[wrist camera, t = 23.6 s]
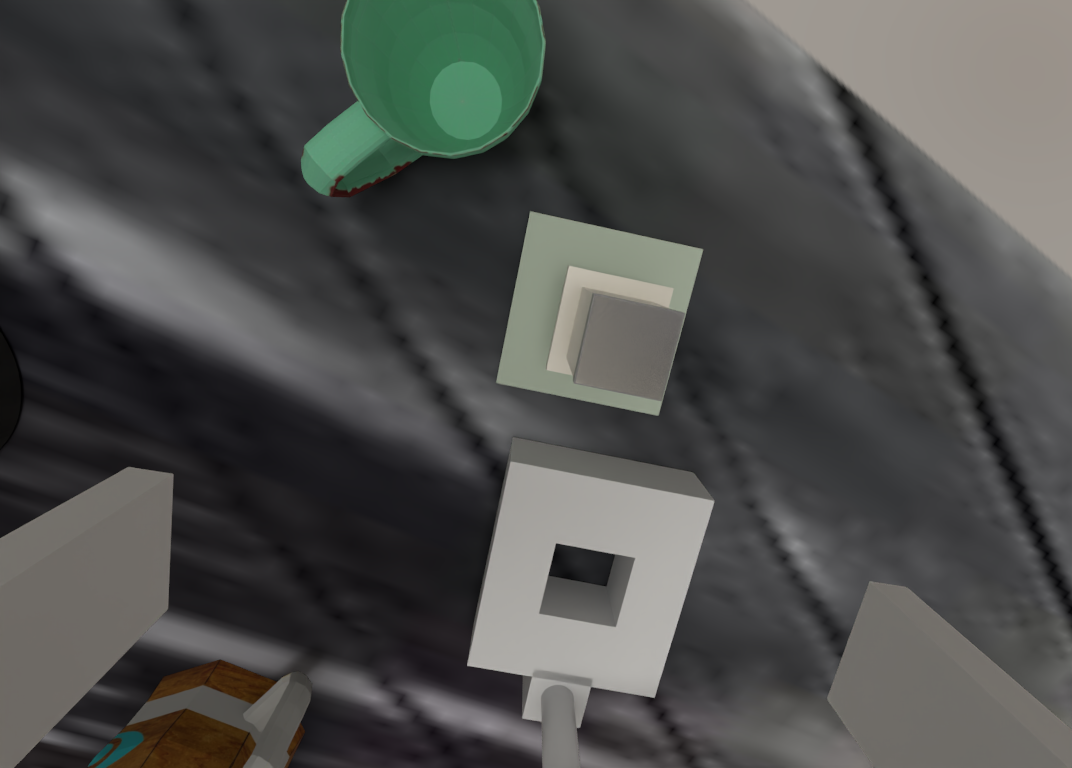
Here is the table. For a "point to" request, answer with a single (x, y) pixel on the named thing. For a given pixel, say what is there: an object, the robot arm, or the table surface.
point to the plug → (615, 333)
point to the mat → (541, 290)
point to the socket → (577, 607)
